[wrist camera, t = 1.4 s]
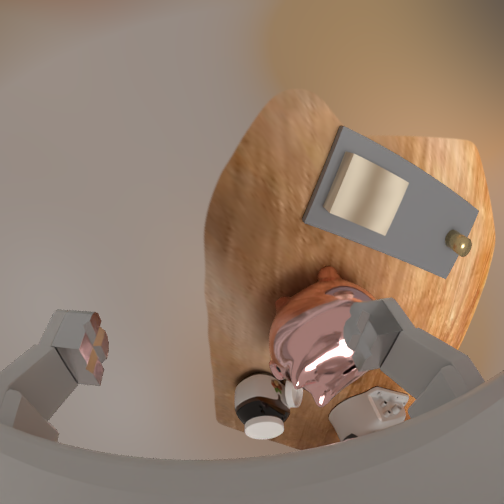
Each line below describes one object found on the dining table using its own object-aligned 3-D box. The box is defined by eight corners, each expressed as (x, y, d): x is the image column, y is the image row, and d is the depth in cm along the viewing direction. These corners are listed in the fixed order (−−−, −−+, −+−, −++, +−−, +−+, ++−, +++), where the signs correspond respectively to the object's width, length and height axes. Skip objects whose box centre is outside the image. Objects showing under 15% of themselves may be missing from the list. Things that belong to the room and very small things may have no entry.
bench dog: (460, 233, 39) (474, 242, 35) (452, 249, 40) (465, 259, 36) (450, 226, 38) (464, 235, 35) (442, 243, 39) (455, 253, 36)
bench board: (473, 208, 39) (478, 211, 37) (441, 275, 44) (445, 279, 42) (339, 126, 34) (343, 126, 32) (301, 219, 39) (304, 223, 37)
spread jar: (229, 381, 52) (227, 430, 41) (269, 352, 49) (275, 403, 38) (271, 403, 56) (275, 447, 45) (311, 378, 52) (322, 424, 42)
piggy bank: (240, 308, 44) (241, 387, 30) (336, 241, 40) (381, 302, 26) (294, 358, 50) (309, 430, 35) (377, 305, 46) (418, 368, 31)
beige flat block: (398, 178, 35) (409, 182, 32) (376, 228, 38) (385, 235, 35) (345, 151, 34) (354, 153, 31) (322, 206, 37) (329, 212, 34)
